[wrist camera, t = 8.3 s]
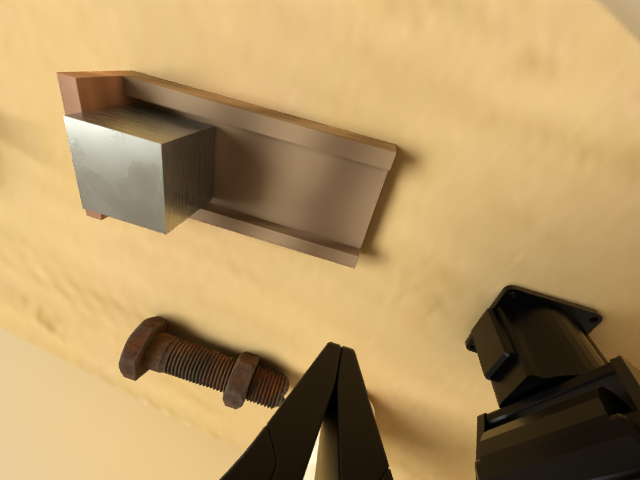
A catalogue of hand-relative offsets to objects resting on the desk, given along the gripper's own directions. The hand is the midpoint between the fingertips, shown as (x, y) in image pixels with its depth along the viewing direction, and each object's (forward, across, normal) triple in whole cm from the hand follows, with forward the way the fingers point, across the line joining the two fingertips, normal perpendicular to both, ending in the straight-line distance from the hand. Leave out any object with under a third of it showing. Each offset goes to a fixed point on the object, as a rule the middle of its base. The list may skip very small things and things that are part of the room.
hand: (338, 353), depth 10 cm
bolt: (+13, +9, +20) cm, 26 cm away
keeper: (+11, +13, 0) cm, 17 cm away
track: (+12, +8, 0) cm, 15 cm away
